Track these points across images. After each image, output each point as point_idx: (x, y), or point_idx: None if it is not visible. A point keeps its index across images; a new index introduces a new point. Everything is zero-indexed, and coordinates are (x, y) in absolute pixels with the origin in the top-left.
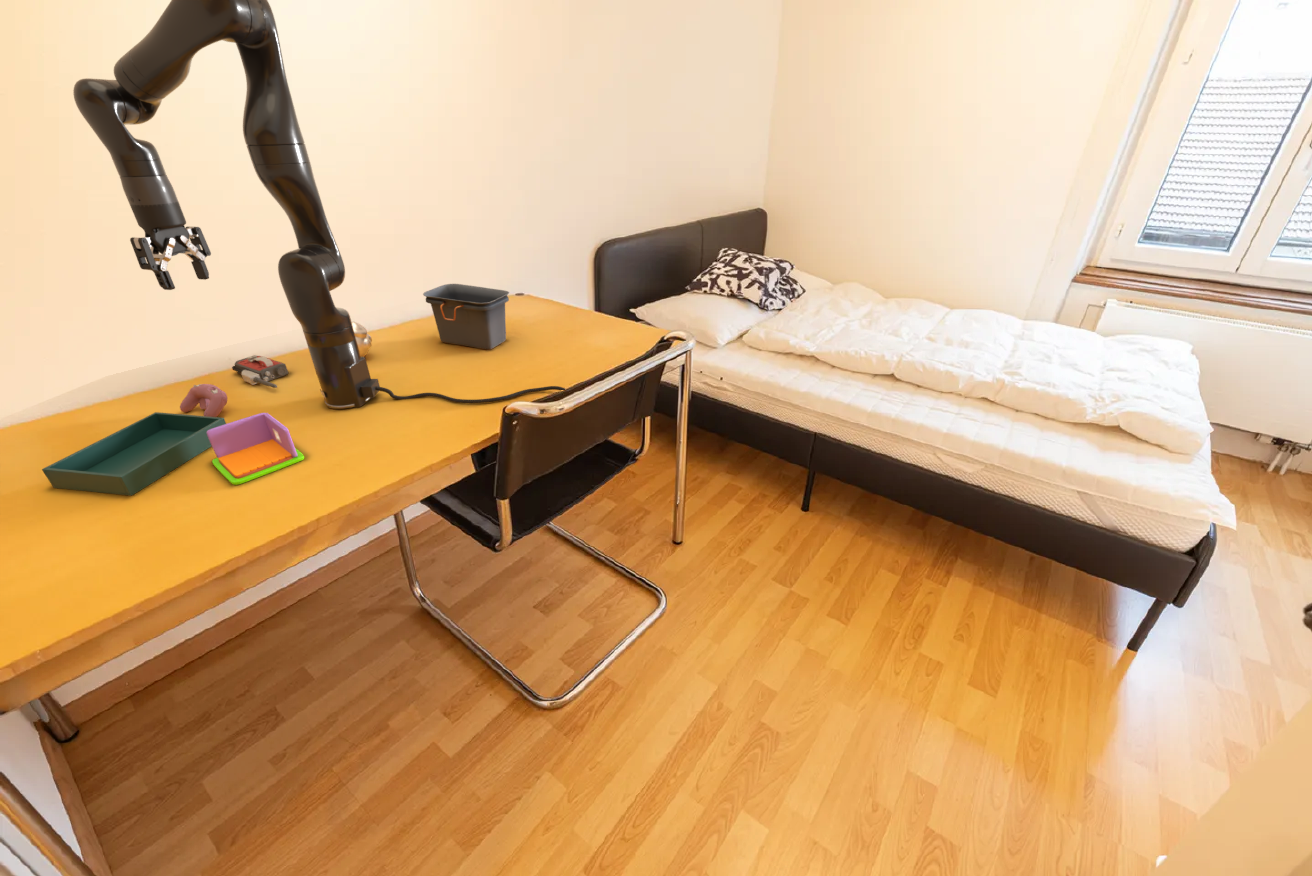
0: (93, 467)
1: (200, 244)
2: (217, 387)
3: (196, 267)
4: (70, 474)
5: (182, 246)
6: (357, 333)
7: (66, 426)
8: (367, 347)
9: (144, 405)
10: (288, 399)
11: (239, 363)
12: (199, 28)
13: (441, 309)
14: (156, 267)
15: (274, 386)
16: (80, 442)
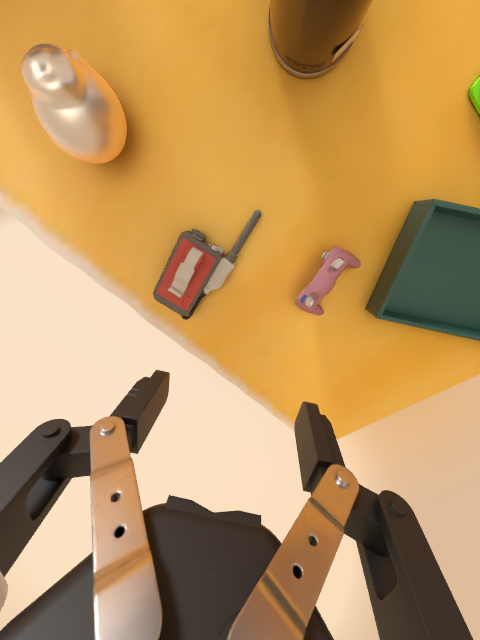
0: (465, 324)
1: (24, 497)
2: (324, 265)
3: (149, 421)
4: None
5: (162, 545)
6: (69, 55)
7: (332, 406)
8: (89, 64)
9: (287, 365)
10: (291, 174)
11: (188, 306)
12: None
13: None
14: (384, 498)
15: (260, 212)
16: (380, 374)
